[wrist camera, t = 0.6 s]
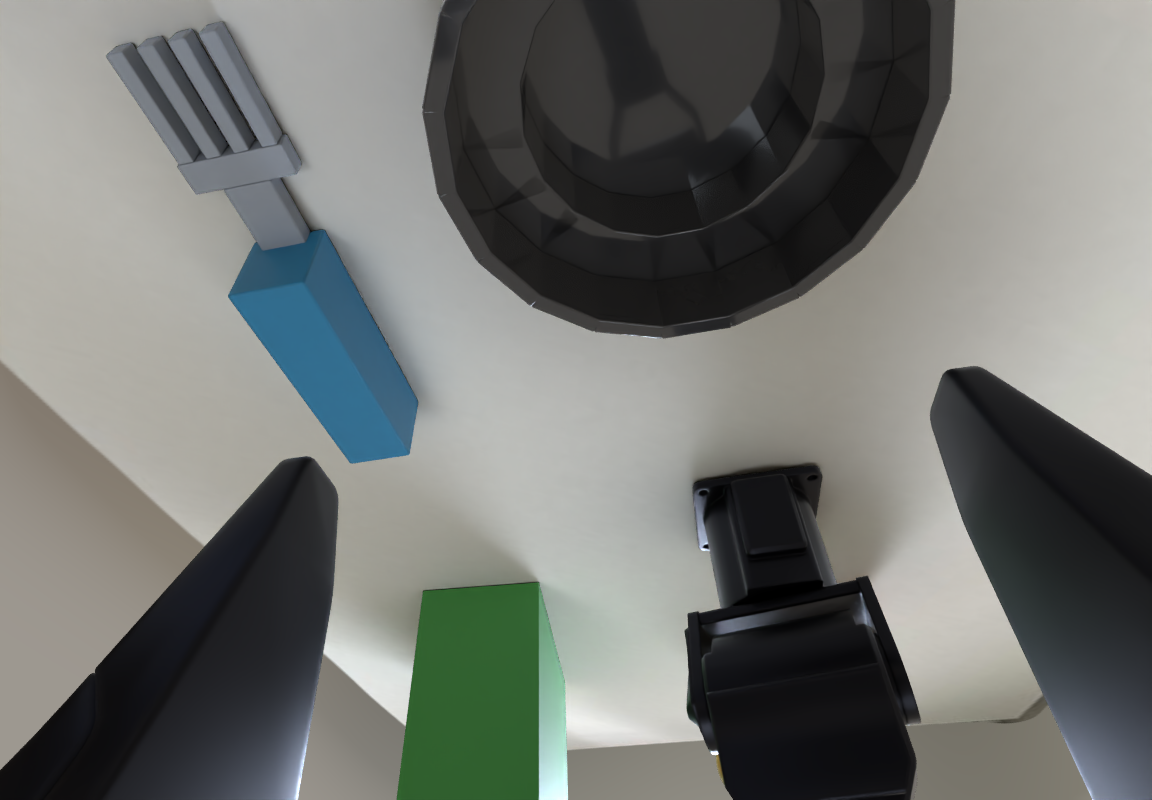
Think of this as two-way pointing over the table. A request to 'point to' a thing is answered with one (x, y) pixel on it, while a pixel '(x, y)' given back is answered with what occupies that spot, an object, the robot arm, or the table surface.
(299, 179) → the table surface
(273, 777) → the robot arm
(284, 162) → the fork
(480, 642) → the hardback book
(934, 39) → the dark grey ramekin
